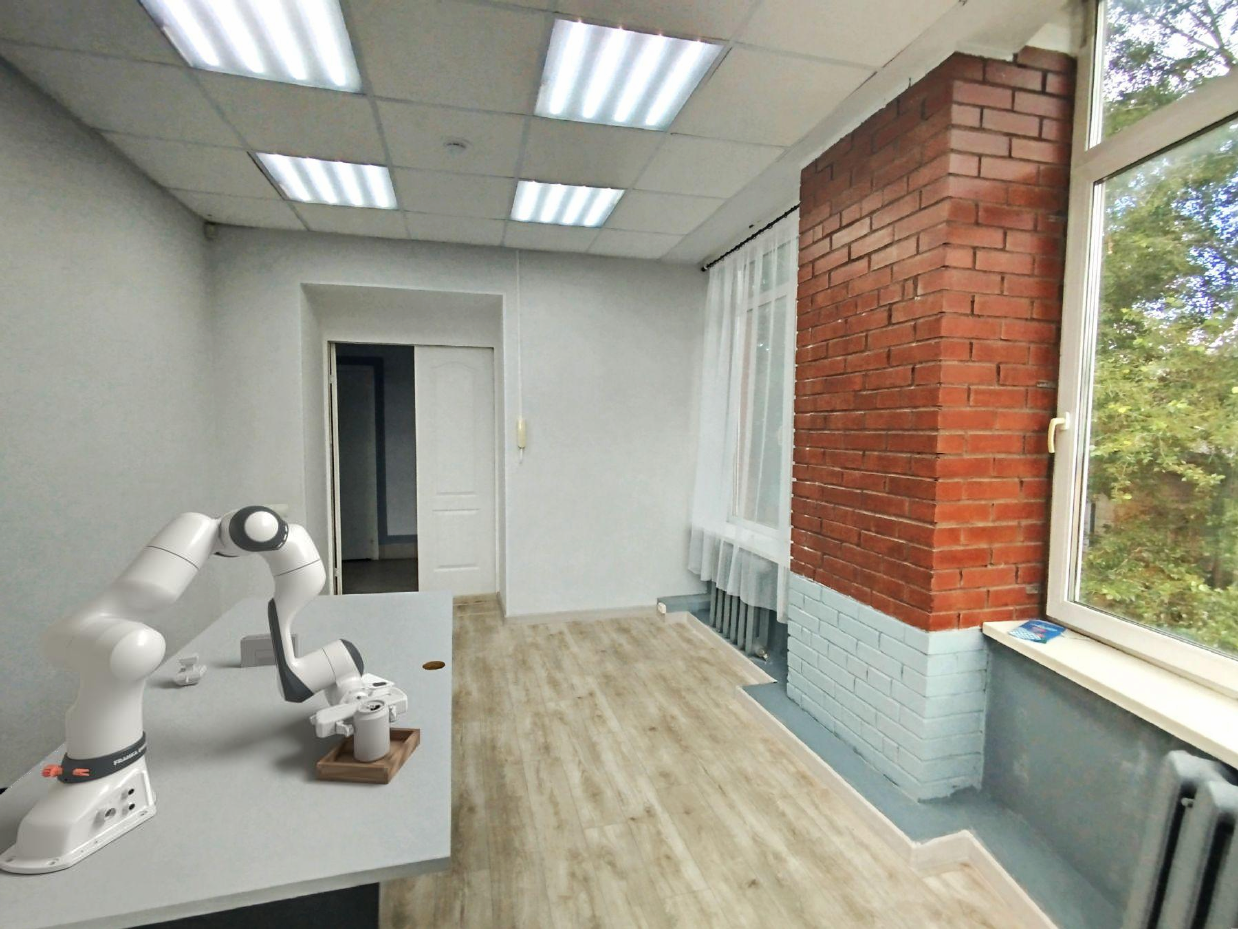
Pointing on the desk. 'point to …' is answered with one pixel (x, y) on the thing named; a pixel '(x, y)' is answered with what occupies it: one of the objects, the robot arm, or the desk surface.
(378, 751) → the can
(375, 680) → the external hard drive
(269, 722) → the desk surface
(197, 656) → the stamp
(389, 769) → the tray
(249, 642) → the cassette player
